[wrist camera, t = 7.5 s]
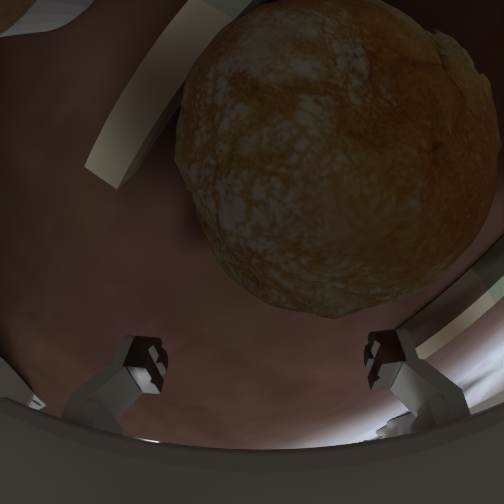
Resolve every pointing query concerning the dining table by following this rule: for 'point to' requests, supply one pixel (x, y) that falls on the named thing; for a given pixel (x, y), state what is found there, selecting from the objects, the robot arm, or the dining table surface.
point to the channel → (168, 101)
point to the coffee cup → (38, 15)
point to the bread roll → (336, 153)
